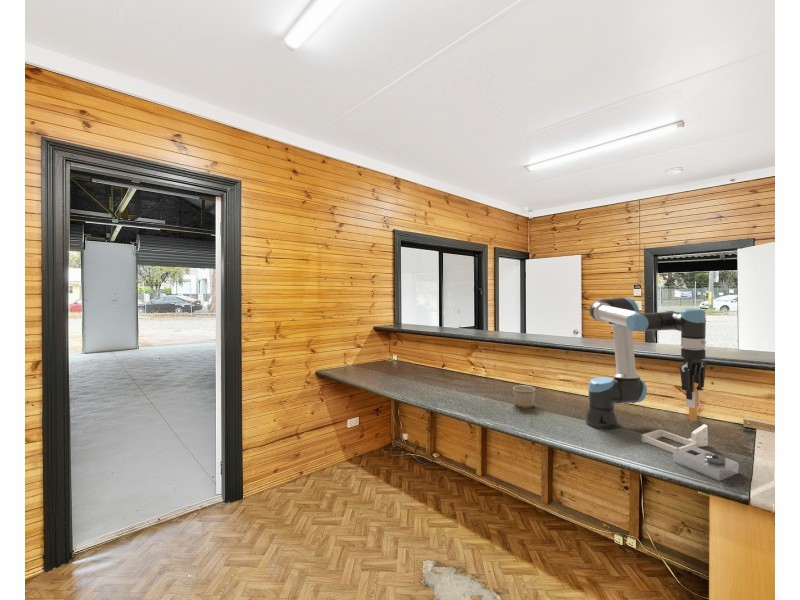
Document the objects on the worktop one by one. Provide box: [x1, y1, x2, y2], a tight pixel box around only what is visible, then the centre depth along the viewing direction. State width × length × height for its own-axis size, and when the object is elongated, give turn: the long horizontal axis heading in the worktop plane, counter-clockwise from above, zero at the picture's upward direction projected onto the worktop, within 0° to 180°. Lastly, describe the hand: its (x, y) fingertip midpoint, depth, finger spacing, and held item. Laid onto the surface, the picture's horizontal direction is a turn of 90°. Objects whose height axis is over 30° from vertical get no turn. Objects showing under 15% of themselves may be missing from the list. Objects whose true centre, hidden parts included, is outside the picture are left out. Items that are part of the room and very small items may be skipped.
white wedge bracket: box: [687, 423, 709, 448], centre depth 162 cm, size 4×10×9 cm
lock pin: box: [688, 382, 698, 422], centre depth 146 cm, size 3×3×15 cm
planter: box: [512, 384, 536, 409], centre depth 222 cm, size 13×13×10 cm
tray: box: [640, 428, 699, 454], centre depth 163 cm, size 16×13×4 cm
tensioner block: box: [672, 445, 740, 482], centre depth 144 cm, size 16×12×8 cm
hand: (692, 406), depth 146 cm, fingers closed on lock pin, 2 cm apart
